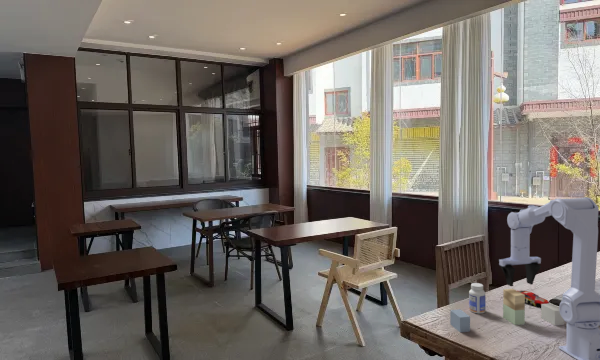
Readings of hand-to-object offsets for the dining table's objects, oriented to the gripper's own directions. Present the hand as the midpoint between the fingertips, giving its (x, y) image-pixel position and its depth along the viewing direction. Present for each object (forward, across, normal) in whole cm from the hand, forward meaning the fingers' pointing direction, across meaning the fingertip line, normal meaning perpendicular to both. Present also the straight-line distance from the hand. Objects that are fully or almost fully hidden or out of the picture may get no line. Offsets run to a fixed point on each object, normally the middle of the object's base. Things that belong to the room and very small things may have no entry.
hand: (519, 284), depth 138 cm
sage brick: (+10, +6, +5) cm, 13 cm away
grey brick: (+10, -6, +8) cm, 14 cm away
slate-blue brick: (+10, +26, +6) cm, 29 cm away
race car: (+11, -10, -8) cm, 17 cm away
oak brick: (+5, +6, +5) cm, 9 cm away
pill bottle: (+11, +13, -5) cm, 18 cm away
